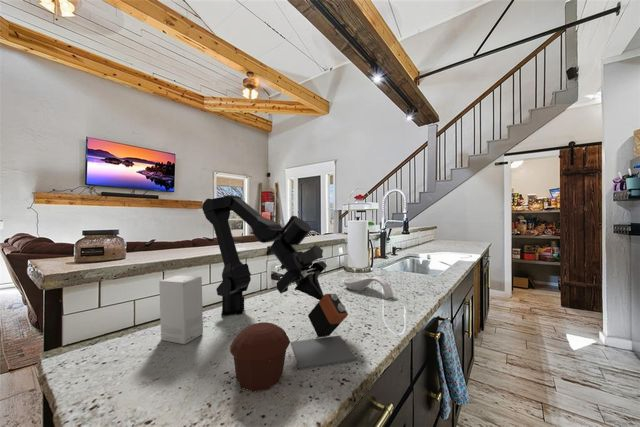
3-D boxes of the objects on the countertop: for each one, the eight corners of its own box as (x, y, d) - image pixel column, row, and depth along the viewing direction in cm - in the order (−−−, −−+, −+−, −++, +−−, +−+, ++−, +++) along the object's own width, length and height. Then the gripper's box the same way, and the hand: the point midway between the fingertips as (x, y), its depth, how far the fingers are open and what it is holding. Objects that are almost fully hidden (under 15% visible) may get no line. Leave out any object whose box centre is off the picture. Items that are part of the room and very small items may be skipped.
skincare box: (203, 334, 68) (204, 276, 69) (183, 346, 62) (183, 282, 62) (179, 329, 71) (180, 273, 71) (157, 340, 65) (158, 279, 65)
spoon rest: (337, 288, 113) (337, 272, 114) (354, 283, 121) (354, 268, 121) (381, 302, 95) (381, 283, 96) (398, 296, 103) (398, 278, 103)
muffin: (237, 406, 43) (237, 346, 43) (223, 371, 52) (224, 322, 53) (299, 381, 49) (300, 330, 49) (277, 354, 59) (277, 311, 59)
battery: (317, 338, 65) (340, 313, 61) (306, 315, 69) (327, 290, 66) (329, 336, 68) (351, 312, 64) (318, 314, 72) (338, 290, 69)
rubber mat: (299, 369, 53) (299, 367, 53) (290, 343, 64) (290, 341, 64) (356, 360, 57) (356, 357, 57) (339, 337, 67) (339, 335, 67)
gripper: (284, 239, 63) (325, 289, 58) (320, 234, 79) (355, 273, 74) (261, 269, 67) (297, 318, 61) (300, 258, 83) (331, 297, 78)
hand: (323, 299), depth 68 cm, fingers closed
